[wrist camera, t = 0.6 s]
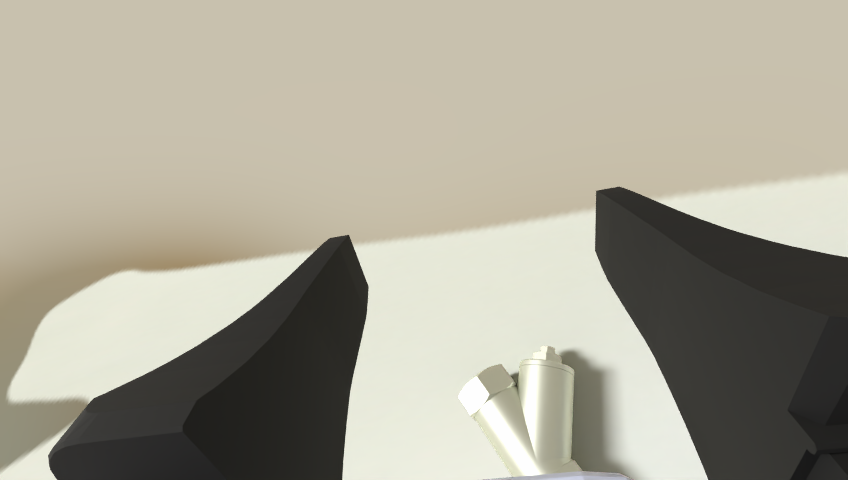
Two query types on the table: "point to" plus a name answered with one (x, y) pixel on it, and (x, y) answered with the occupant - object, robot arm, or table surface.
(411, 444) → the table surface
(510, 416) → the pipe fitting
